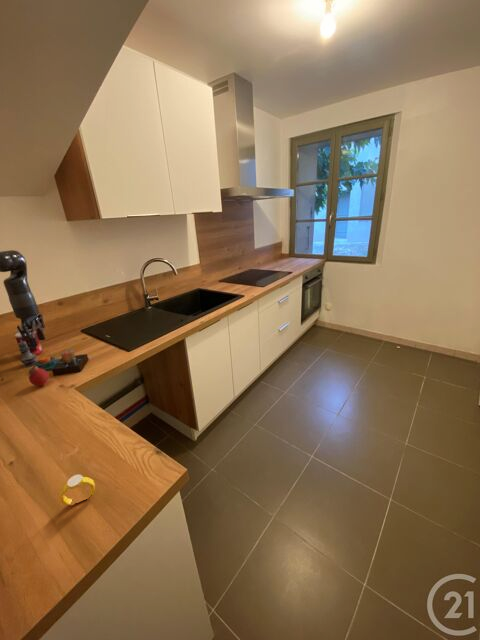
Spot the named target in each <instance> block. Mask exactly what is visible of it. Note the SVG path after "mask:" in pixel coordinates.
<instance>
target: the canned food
mask: <svg viewBox="0 0 480 640" xmlns="http://www.w3.org/2000/svg"><path fill="white" fill-rule="evenodd" d="M30 334H31V332H30ZM34 335H35V338H36V341H37V343H38V346H36V347H31V345H30V343H29V340H28V339H23V337H22V336H21V334H20V332H19V331H18V332H17V333H15V334H14V338H15V340H16V343H17V344H18V343H19V342H20V340H22V341H25V342H26V343H27V346H28V347H29V348H30V349H29V350H30V352H31V354H36V357H37V356H39V355H41V354H42V353H43V347H42V345H41V342H40V340H39V339H38V337H37V334H36V331H35V332H34ZM25 336H26V334H25Z"/></svg>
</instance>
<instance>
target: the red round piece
mask: <svg viewBox="0 0 480 640" xmlns="http://www.w3.org/2000/svg"><path fill="white" fill-rule="evenodd" d="M49 379H50V374H49V371H46V370H44V369H40V368H38V367H35V368H34V370H33V371H32V372H31V374H30V373H29V376H28V380H29V382H30V384H32V385H33V386H37V387H39V386H40V387H41V386H42V387H43V386H44V385H45V384H47V382H48V381H49Z"/></svg>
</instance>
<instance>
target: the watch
mask: <svg viewBox="0 0 480 640" xmlns="http://www.w3.org/2000/svg"><path fill="white" fill-rule="evenodd" d="M82 484H86V485H89V486H91V490H90V491H91V495H92V496H93V495H94V493H95V490H96V483H95V481H94V480H93V479H92V478H90V477H88V476H83V475H82V474H74V475H72V476H71V477H70V478H69V479H68V481H67V482H66V483H65V484H64V486H63V487H62V489H61V492H60V493H61V494H60V499H61V502H62V504H64V505H66V506H71V505H70V504H71V502H72V499H73V498H68V497H67V496H66V495H65V494H66V492H67V491H68V490H69V489H71V490H73V489H76V488H78V487H80V486H81V485H82ZM91 495H90V496H91ZM92 496H91V497H92Z"/></svg>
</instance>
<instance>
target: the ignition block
mask: <svg viewBox="0 0 480 640" xmlns="http://www.w3.org/2000/svg"><path fill="white" fill-rule="evenodd" d="M49 357H50V359H51V360H50V361H49V362H46V363H40V360H37V361H38V362H37V363H36V365H34V366H32V368H31V369H30V370H29V371H28V372H29V375H30V374H31V372H32V371H33V370H34V368H35V367H38V368H40V369H44V370H46V371H47V372H52V368H53V367H54V366H55V365H56V364H57V363H58V362H59V360H60V359H61V358H55V357H54V356H49Z"/></svg>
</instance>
